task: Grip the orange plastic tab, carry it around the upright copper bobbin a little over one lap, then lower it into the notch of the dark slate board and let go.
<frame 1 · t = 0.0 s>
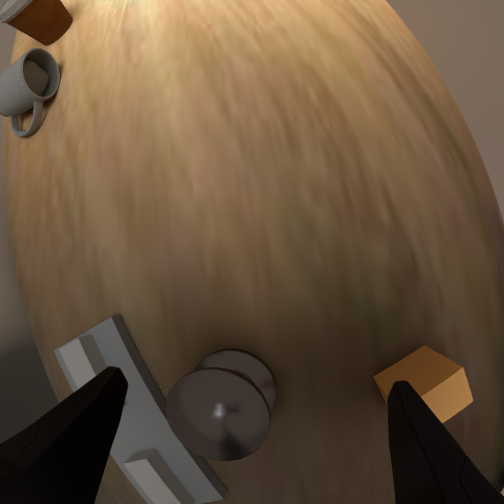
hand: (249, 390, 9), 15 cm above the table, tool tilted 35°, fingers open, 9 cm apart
disposable coffee cup: (58, 31, 32), on the table
orange tab: (405, 375, 22), on the table
ceramic mug: (40, 103, 30), on the table
copper bobbin: (234, 388, 24), on the table
notched board: (137, 424, 25), on the table
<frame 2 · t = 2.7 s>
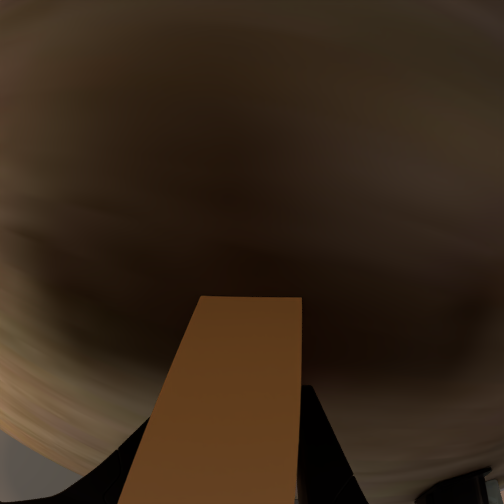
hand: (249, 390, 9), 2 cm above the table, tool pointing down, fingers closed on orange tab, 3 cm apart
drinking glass: (466, 492, 21), on the table
orange tab: (255, 354, 10), on the table, touching gripper
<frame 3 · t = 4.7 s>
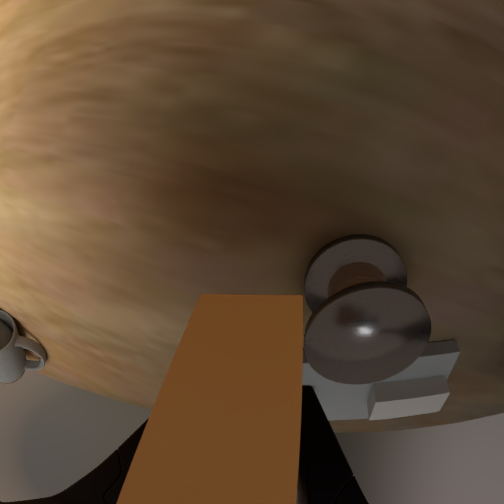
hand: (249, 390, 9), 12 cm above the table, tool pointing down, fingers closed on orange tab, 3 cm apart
orange tab: (256, 353, 10), point 10 cm above the table, touching gripper
ceramic mug: (20, 333, 31), on the table
copper bobbin: (355, 281, 20), on the table
notched board: (341, 382, 25), on the table
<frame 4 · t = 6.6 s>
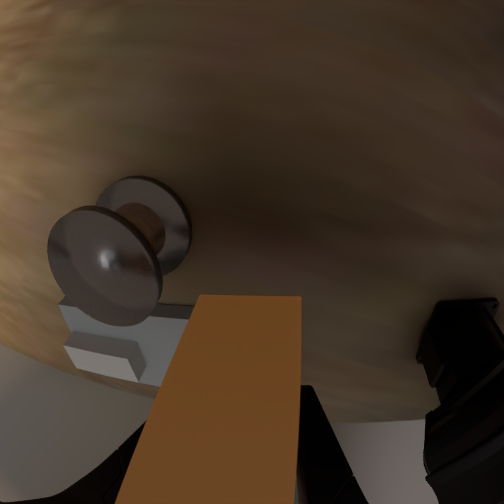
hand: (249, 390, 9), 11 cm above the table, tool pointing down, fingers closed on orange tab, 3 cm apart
orange tab: (255, 354, 10), point 10 cm above the table, touching gripper
copper bobbin: (142, 226, 20), on the table
notched board: (173, 345, 25), on the table
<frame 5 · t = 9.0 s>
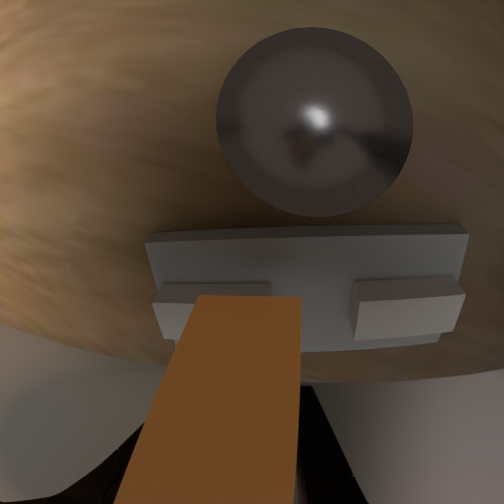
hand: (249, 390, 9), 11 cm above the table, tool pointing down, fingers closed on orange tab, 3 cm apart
orange tab: (254, 354, 10), point 10 cm above the table, touching gripper
copper bobbin: (307, 113, 15), on the table
notched board: (311, 288, 20), on the table
when the fingers open (4 cm above the table, at t = 11.0 s): orange tab drops 2 cm, resting on notched board.
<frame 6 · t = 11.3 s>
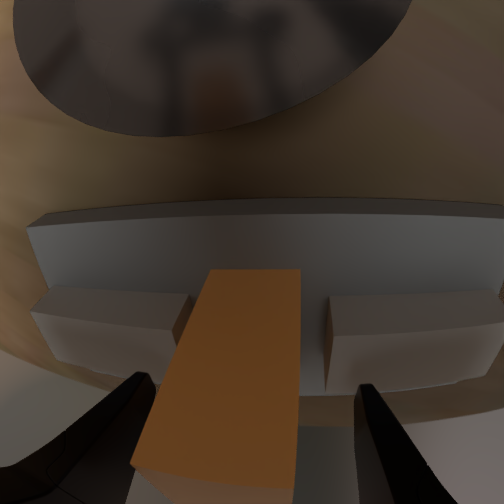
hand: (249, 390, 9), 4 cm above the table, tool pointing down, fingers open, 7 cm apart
orange tab: (259, 325, 11), point 1 cm above the table, touching notched board
copper bobbin: (241, 13, 8), on the table
notched board: (263, 303, 13), on the table
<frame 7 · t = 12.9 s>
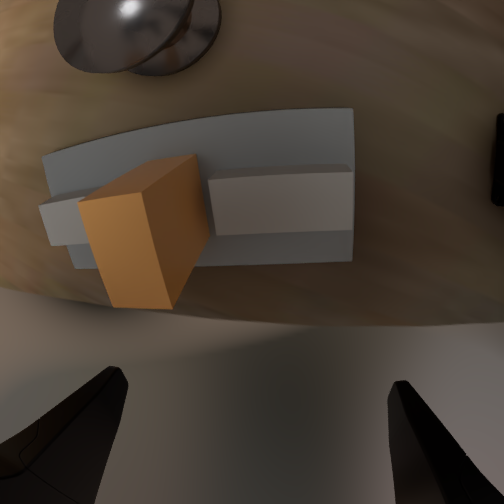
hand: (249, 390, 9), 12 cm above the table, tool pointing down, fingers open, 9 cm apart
orange tab: (178, 198, 17), point 1 cm above the table, touching notched board
copper bobbin: (163, 23, 14), on the table
notched board: (186, 192, 19), on the table
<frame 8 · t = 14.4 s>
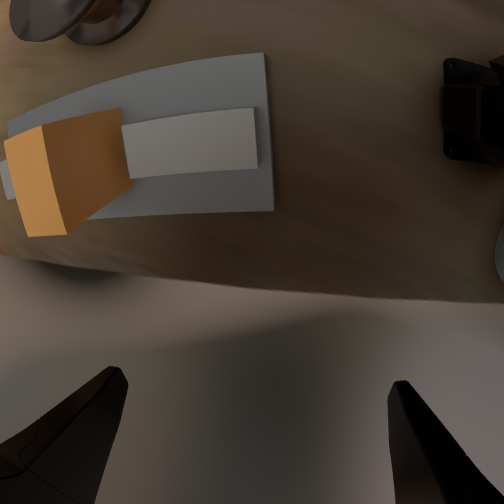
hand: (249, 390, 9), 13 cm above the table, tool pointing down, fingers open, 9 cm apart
orange tab: (108, 150, 17), point 1 cm above the table, touching notched board
copper bobbin: (106, 0, 13), on the table
notched board: (119, 146, 18), on the table
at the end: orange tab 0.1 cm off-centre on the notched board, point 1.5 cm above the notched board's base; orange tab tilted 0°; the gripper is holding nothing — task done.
